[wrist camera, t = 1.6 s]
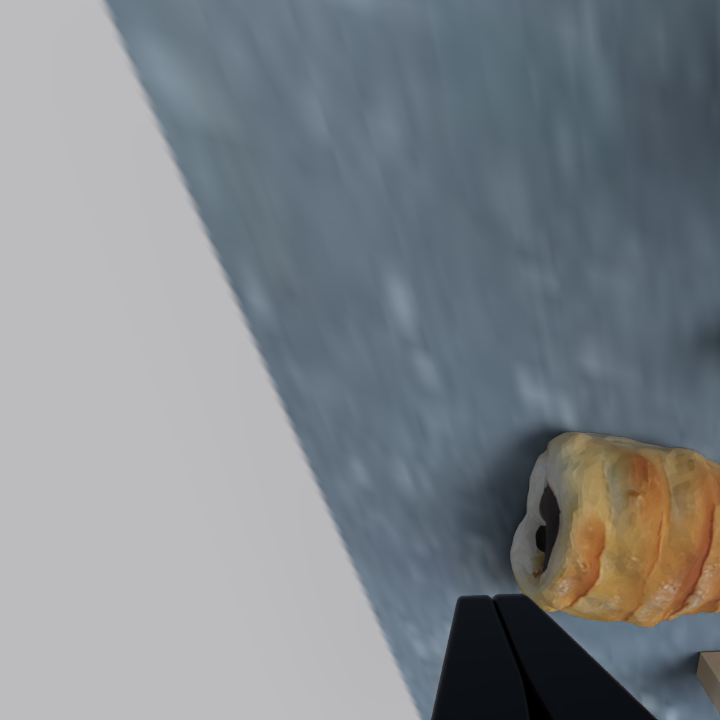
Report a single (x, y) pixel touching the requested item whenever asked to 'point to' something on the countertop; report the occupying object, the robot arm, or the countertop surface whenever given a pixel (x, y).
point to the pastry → (620, 531)
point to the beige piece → (710, 675)
